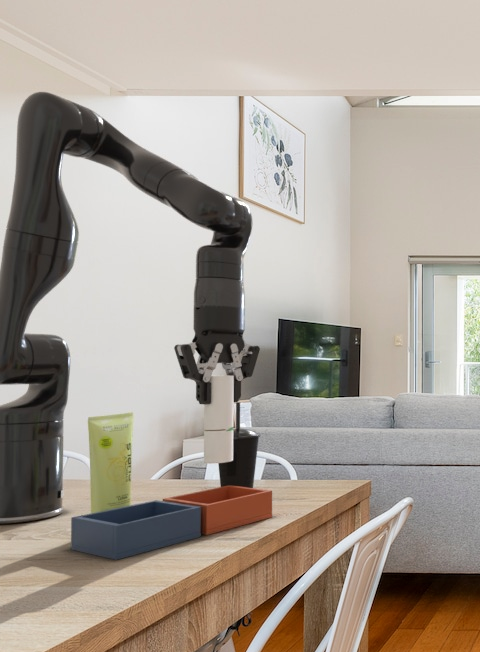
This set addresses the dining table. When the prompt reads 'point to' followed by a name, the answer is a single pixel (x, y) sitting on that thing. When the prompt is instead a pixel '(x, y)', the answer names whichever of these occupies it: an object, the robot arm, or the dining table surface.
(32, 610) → the dining table surface
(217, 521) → the terracotta bin
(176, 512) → the blue bin
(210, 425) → the tube
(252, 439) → the drinking cup
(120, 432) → the tube
